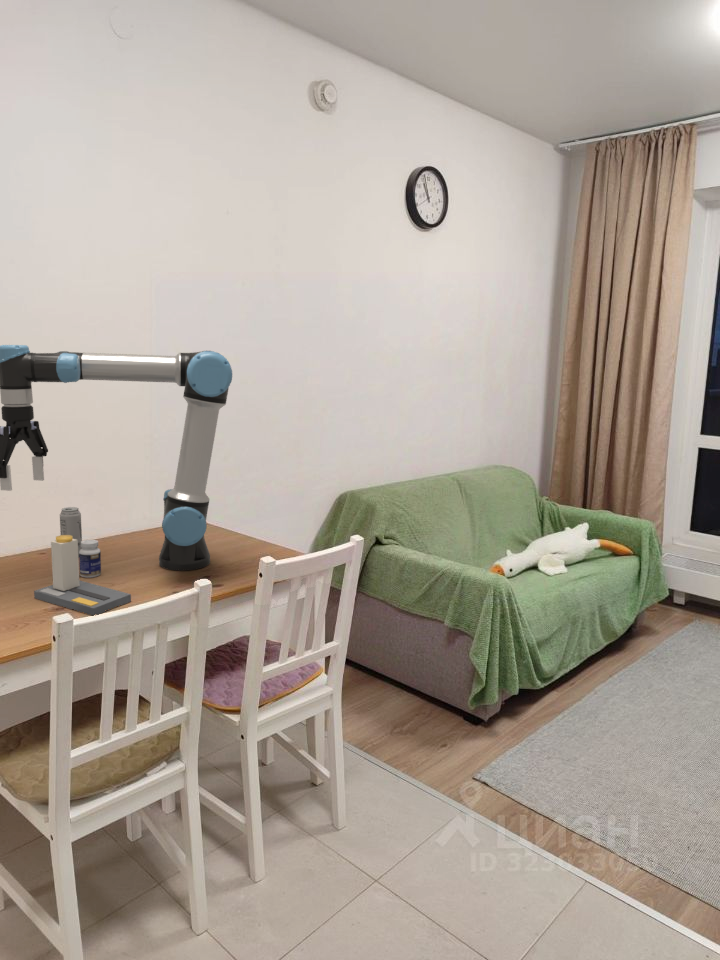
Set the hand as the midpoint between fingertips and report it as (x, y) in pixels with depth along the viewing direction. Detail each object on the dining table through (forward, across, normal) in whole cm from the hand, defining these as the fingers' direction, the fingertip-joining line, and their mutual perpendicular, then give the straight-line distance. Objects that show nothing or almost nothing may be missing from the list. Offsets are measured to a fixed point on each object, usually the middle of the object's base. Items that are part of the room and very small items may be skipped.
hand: (23, 485), depth 192 cm
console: (+28, +7, +20) cm, 35 cm away
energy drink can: (+28, -26, -4) cm, 38 cm away
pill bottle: (+28, -11, +11) cm, 32 cm away
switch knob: (+26, +5, +14) cm, 30 cm away
